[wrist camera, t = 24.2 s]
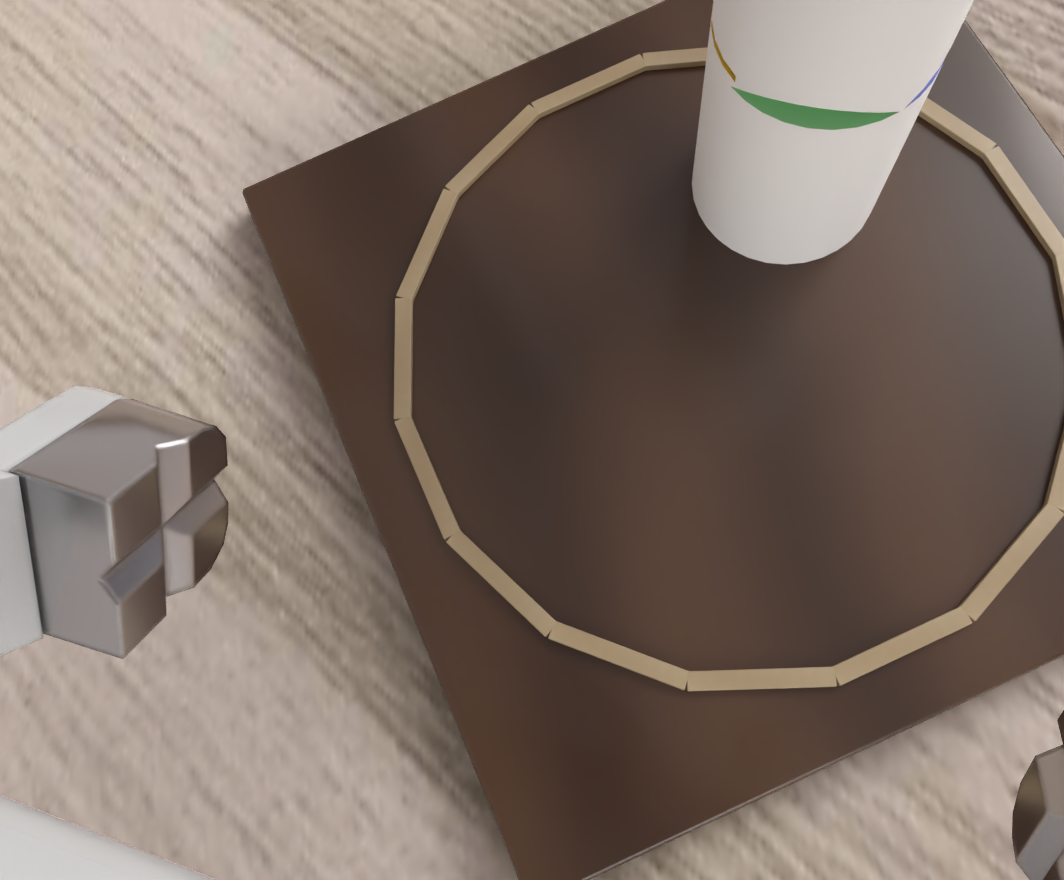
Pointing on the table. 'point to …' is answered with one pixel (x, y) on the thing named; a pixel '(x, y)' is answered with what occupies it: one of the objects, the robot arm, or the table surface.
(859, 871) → the table surface
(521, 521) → the board
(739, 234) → the tube
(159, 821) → the table surface
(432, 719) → the table surface
